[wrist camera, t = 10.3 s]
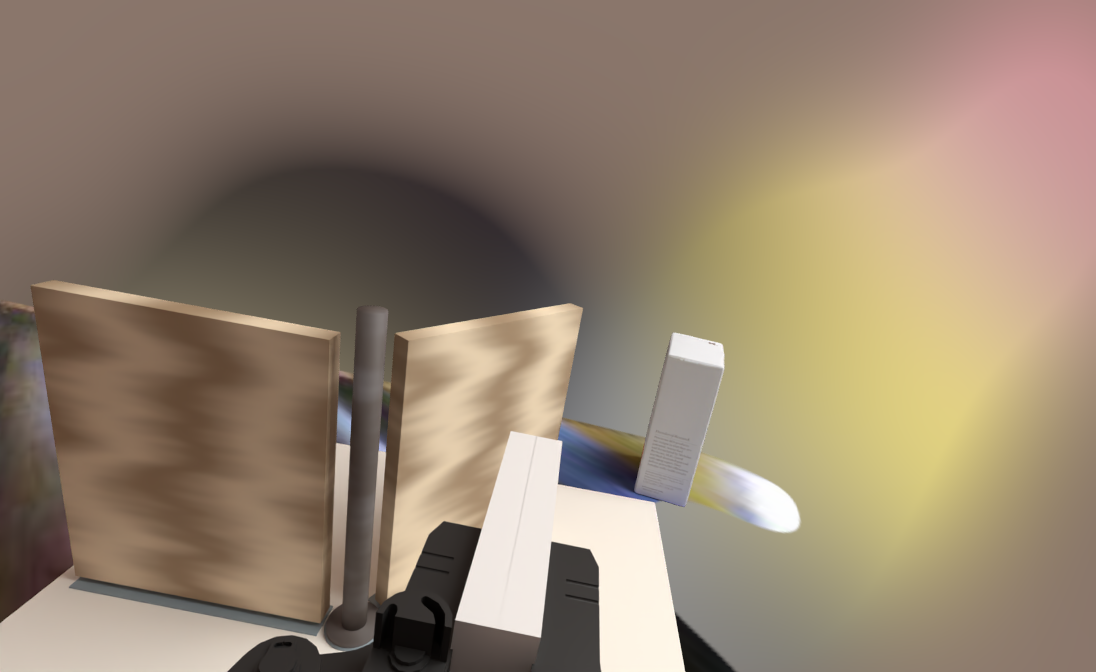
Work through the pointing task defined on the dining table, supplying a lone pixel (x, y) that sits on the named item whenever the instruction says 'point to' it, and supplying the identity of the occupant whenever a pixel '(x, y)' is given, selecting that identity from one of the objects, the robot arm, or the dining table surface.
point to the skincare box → (680, 418)
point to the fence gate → (464, 421)
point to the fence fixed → (212, 451)
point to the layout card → (337, 602)
